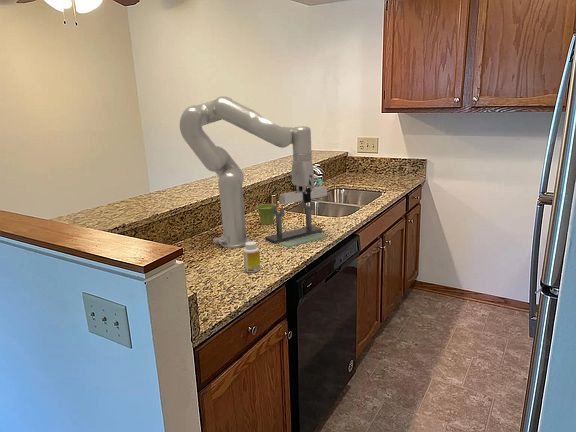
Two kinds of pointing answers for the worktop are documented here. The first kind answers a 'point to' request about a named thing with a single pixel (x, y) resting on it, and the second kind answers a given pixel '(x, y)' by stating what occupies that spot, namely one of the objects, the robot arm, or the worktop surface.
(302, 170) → the robot arm
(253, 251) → the supplement bottle
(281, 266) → the worktop surface
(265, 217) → the plant pot
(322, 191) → the pale grey bar
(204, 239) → the worktop surface
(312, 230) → the hook rack
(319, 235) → the rubber mat
